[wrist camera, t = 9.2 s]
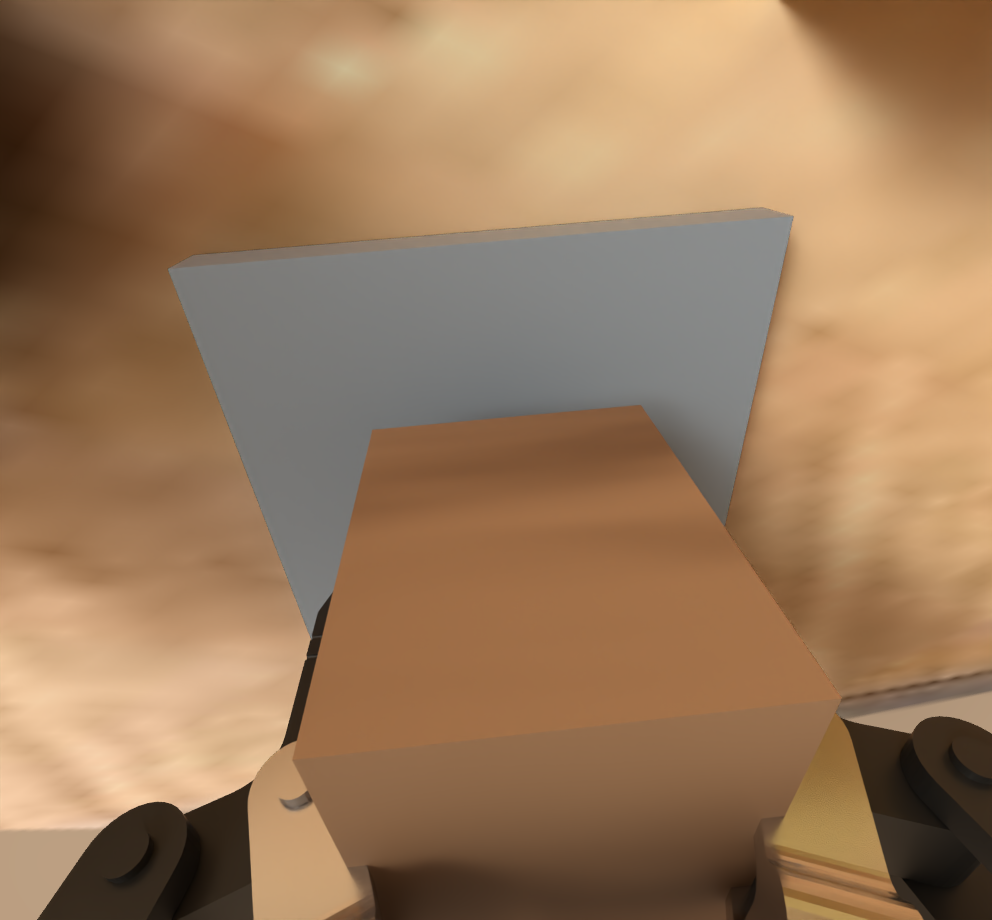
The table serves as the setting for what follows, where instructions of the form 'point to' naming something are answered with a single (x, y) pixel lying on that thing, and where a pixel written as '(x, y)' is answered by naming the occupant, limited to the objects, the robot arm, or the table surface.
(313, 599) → the slate baseplate
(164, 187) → the table surface
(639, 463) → the walnut brick
